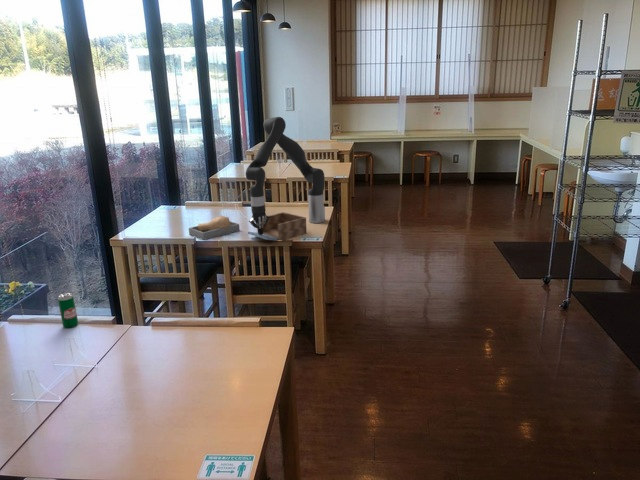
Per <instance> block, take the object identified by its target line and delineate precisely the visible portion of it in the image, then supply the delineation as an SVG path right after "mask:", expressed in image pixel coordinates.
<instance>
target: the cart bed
mask: <svg viewBox="0 0 640 480" xmlns="http://www.w3.org/2000/svg"><path fill="white" fill-rule="evenodd" d="M268 216H269V217H270V218H269V220H268V222H267V224H266V226H264V227H263V234H265V235H268V236H271V237H275V238H278V240H283V241H286V240H285V239H287V240H289V239H293V238H298V237H299V236H303V235H306V234H308V233H307V231H308V230H307V217H305V216H301V215H297V214H292V213H290V212H289V213H288V212H284V211H283V212H278V213H275V214H271V215H268Z"/></svg>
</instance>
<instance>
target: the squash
mask: <svg viewBox="0 0 640 480" xmlns="http://www.w3.org/2000/svg"><path fill="white" fill-rule="evenodd" d="M230 225H231V223H230V218H229V216H224V215H219V216H217V217H214V218H212V219H210V221H208V222H205V223H198V225H197V226H198V227H197V229H198V231H204V232H207V231H206V230H208V231H211V230H215V229H219V228H225V229H228V227H229V226H230Z"/></svg>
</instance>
